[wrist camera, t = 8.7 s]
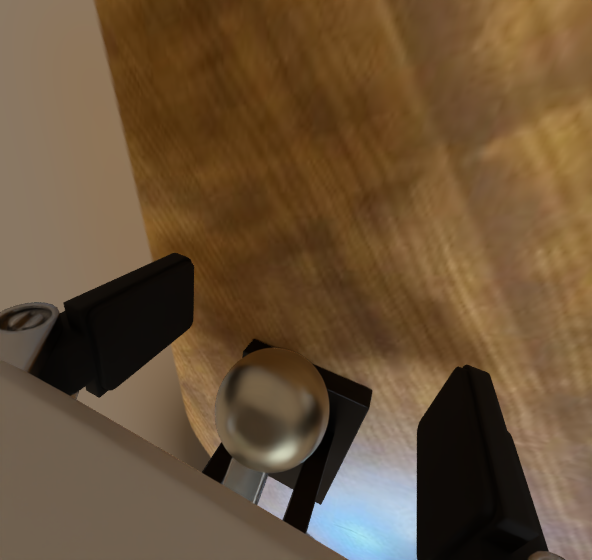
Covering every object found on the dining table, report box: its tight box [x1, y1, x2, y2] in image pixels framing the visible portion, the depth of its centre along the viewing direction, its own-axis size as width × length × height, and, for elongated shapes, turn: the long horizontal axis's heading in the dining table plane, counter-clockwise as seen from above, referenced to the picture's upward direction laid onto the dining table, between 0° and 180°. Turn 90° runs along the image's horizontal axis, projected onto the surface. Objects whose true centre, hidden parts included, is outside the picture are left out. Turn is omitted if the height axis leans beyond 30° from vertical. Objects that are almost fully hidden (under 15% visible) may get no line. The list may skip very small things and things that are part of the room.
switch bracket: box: [202, 339, 372, 534], centre depth 13 cm, size 10×7×13 cm
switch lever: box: [215, 348, 329, 505], centre depth 9 cm, size 13×3×3 cm, turn 168°
